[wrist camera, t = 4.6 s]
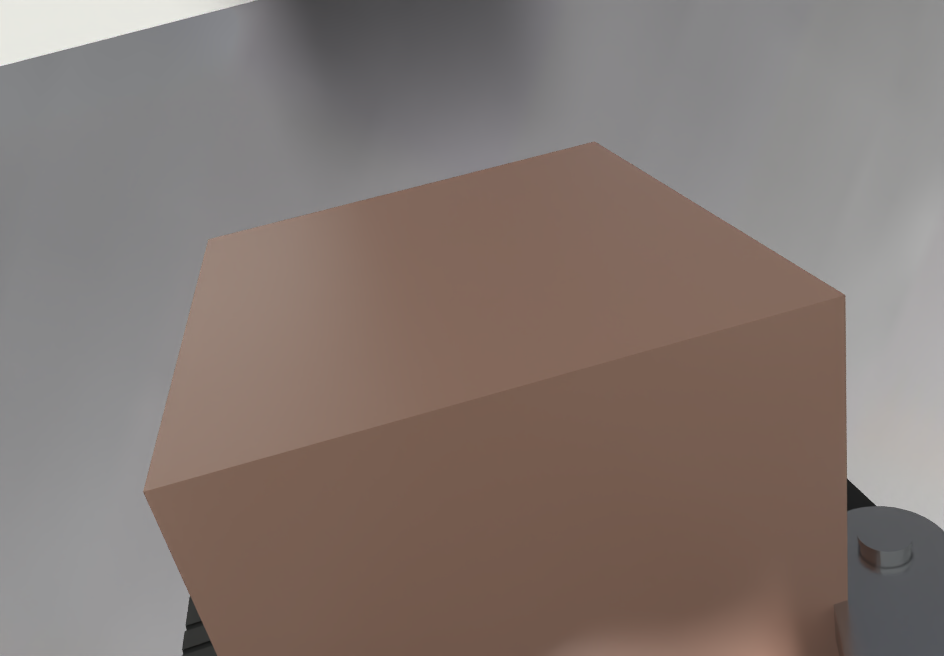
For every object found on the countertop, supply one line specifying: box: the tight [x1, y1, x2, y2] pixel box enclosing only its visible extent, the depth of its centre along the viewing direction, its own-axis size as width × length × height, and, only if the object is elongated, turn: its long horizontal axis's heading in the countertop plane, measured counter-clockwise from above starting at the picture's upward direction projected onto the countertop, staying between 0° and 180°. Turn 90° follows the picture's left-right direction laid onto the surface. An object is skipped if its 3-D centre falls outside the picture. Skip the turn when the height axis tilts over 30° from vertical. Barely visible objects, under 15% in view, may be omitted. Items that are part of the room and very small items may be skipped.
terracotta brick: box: [143, 142, 848, 656], centre depth 11 cm, size 6×9×6 cm, turn 12°
